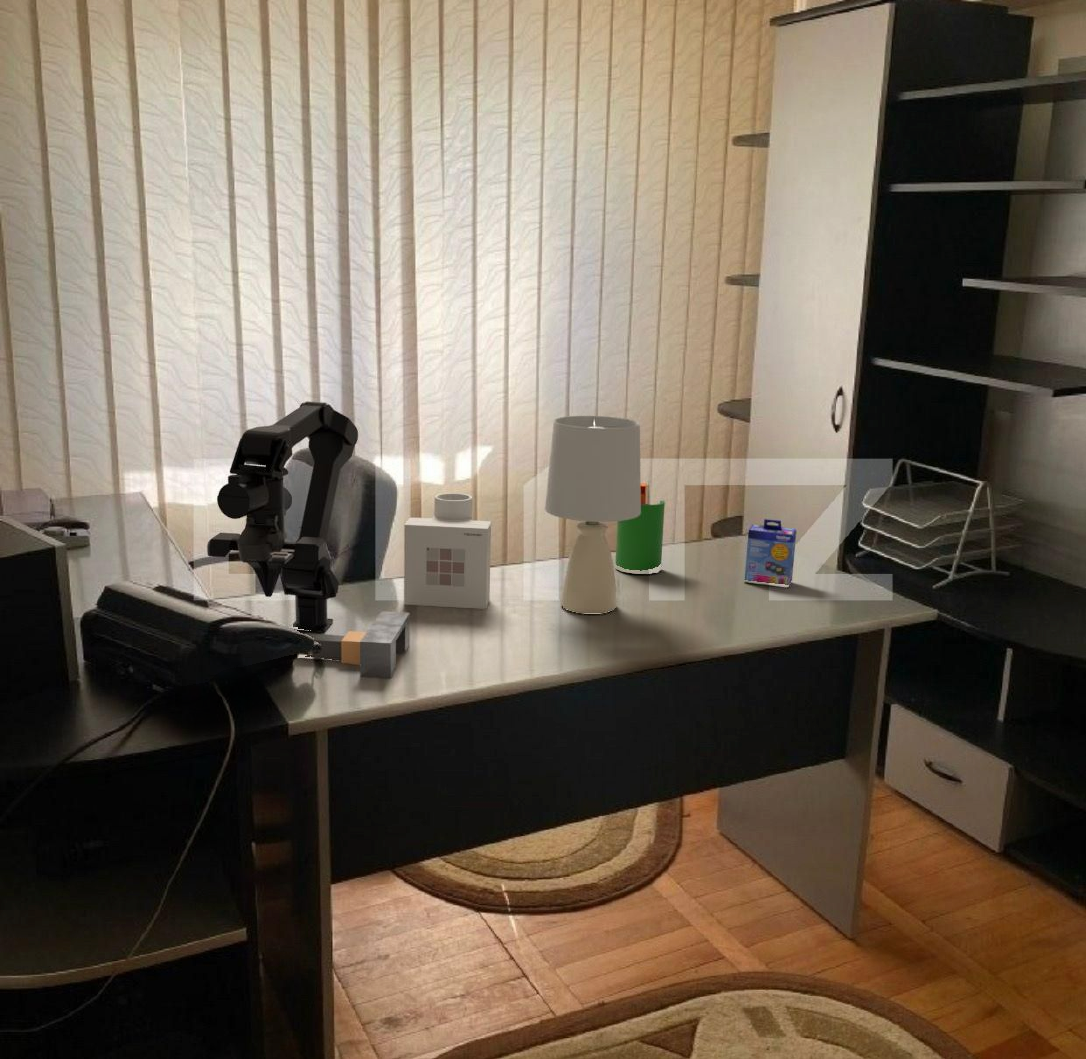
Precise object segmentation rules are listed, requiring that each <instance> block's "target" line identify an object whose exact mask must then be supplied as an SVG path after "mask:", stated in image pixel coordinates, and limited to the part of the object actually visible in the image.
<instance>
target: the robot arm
mask: <svg viewBox="0 0 1086 1059" xmlns="http://www.w3.org/2000/svg"><path fill="white" fill-rule="evenodd" d="M305 438H307V439H308V449H309V452H310V456H311V457H312V460H313V465H312V466H313V467H312V472H311V474H310V475H311V476H310V481H309V486H308V490H307V495H306V499H305V500H306V501H305V506H304V511H303V516H302V521H301V525H300V530H299V536H298V538H297V540H296V541H295V542H294V541H293V542H292V541H286V539H287V537H288V536H287V532H286V531H285V527H286V526H285V516H286V515H287V509H286V508H285V497H284V496H285V495H284V493H285V492H284V491H285V490H284V489H285V487H284V477H285V476H287V475H288V474H289V470H288V468H286V467H285V465H286V463H287V462H288V461H289V460H290V459H291V458H292V457H293V448H294V447H295V446H296V445H298V444H299V443H300V442H301V441H303V440H304V439H305ZM358 440H359V432H358V427H357V426H356V425H355V424H354V422H353V421H352V420H351V419H350V418H349V417H348V416H346V415H344V414H342V413H340V412H338V410H337V411H336V410H335V409H334V408H333V407H332V406H331V405H330V404H328V403H327V402H320V401H305V402H301V403H300V405H299V407H298V408H296V409H295V410H293V411H292V412H290V413H288V414H287V415H286V416H284V417H283V418H281V419H279V420H277V422H275V423H273V424H270V425H266V426H265V425H264V426H256V427H253V428H250V429H249V428H248V429H247V430H245V431H244V432H243V434H242V435H241V437H240V439H239V442H238V445H237V447H236V451H235V453H234V457H233V459H232V463H231V466H230V469H229V474H230V475H228V476H227V483H226V484H224V485H223V486H222V487H221V488H220V489H219V491H218V494H217V497H216V502H217V506H218V509H219V510H220V512H221V513H222V514H223V515H224V516H225V517H228V519H233V520H239V519H242V518H244V517H246V520H245V521H246V522H245V526H244V529H243V530H242V531H241V534H240V533H238V532H237V533H234V532H232V533H231V532H219V533H217V534H216V535H215V536H213V537H211V538H210V539H209V540H208V542H207V545H206V546H207V547H206V548H207V556H208V557H214V558H215V557H216V558H218V557H219V558H226V557H227V556H228V555H229V554H230V553H231V552H232V551H234V552H235V551H236V552H238V556H239V559H240V560H241V562H242V563H244V564H248V565H249V566H250V567H251V568H252V569H253V572H255V575H256V577H257V579H258V581H259V583H260V586H261V589H262V591H263V594H264V596H265V597H266V598H271V597H272V596H273V593H274V592H275V588H276V586H277V583H278V580H279V577H280V581H281V585H282V590H283V593H284V595H285V596H295V597H294V600H295V601H294V602H295V621H294V622H293V623H292V624H293V627H298V629H304V630H309V631H308V632H312V631H322V632H321V633H325V632H326V631H327V630H326V629H327V628H329V627H330V626H331V625H332V624H333V622H334V619H333V618H328V600H329V599H332V598H336V597H337V594H338V592H339V584H340V582H339V580H338V578H337V577H336V575H335V574H334V572H333V571H332V568H331V567H332V566H331V565H332V558H331V556H330V554H329V553H330V552H329V551H328V548H327V537H328V533H329V528H330V523H331V518H332V515H333V514H332V512H333V508H334V504H335V503H334V502H335V498H336V493H337V487H338V483H339V477H340V474H341V473H340V472H341V469H342V468H343V466H344V465H346V463H348V461H349V460H350V459H351V458H352V456H353V454H354V449H355V446H356V444H357V443H358ZM331 623H332V624H331ZM330 624H331V625H330ZM310 630H311V631H310ZM325 630H326V631H325ZM324 631H325V632H324Z"/></svg>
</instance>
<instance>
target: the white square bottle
mask: <svg viewBox="0 0 1086 1059" xmlns="http://www.w3.org/2000/svg"><path fill="white" fill-rule="evenodd" d="M403 532H404V533H403V534H404V537H403V538H404V539H403V540H404V544H403V545H404V546H403V548H404V549H403V550H404V552H403V556H404V558H403V559H404V560H403V561H404V562H403V565H404V566H403V570H404V571H403V574H404V576H403V579H404V580H403V584H404V586H403V587H404V588H403V592H404V593H403V597H404V598H403V605H405V606H420V607H421V606H424V607H425V606H426V607H440V608H441V607H443V608H461V609H462V608H463V609H479V610H480V609H481V610H486V609H488V608H487V607H488V606H489V603H490V599H491V597H490V593H491V592H490V590H491V588H490V587H491V555H492V554H491V550H492V549H491V546H492V545H491V544H492V541H491V540H492V521H491V520H489V521H487V520H473V497H472V496H471V495H470V494H467V493H460V492H459V493H458V492H457V493H456V492H445V493H438V494H436V495H435V496H434V513H433V516H432V517H429V518H427V517H409V518H408V519H407V520H406V522H405V524H404V531H403Z"/></svg>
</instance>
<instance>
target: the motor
mask: <svg viewBox="0 0 1086 1059" xmlns="http://www.w3.org/2000/svg"><path fill="white" fill-rule="evenodd" d="M646 501H647V483H641V514H640V515H639V516H638V517H636V518H633V519H629V520H623V521H616V522H617V524H616V526H617V528H616V542H615V544H616V545H615V546H616V548H615V564H616V565H617V566H620V567H622V568H624V569H629V570H640V571H642V570H648V569H653V568H655V567H658V566H659V565H660V564H661V565H662V556H663V554H662V553H663V543H664V542H663V540H664V539H663V538H664V521H665V506H666V505H665V504H666V501H665V500H660V502H659V503H656V504H650V503H647V502H646Z"/></svg>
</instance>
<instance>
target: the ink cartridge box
mask: <svg viewBox="0 0 1086 1059" xmlns="http://www.w3.org/2000/svg"><path fill="white" fill-rule="evenodd" d="M763 520H764V521H763V524H751V525H750V527H749V529H748V533H747V541H746V542H747V543H746V545H747V546H746V557H745V558H746V560H745V568H744V569H745V570H744V578H743V579H744V580H748V581H757V582H766V583H775V584H785V585H790V583H791V581H792V582H793V572H794V563H795V554H796V553H795V552H796V540H797V539H796V538H797V529H796V528H792V527H791V528H790V527H783V526H782V520H779V519H778V520H776V519H767V518H764V519H763ZM768 523H773V524H768ZM790 586H791V585H790Z"/></svg>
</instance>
